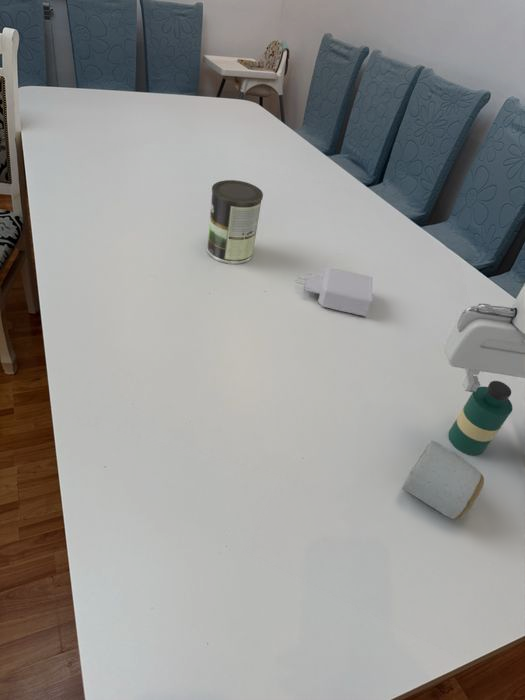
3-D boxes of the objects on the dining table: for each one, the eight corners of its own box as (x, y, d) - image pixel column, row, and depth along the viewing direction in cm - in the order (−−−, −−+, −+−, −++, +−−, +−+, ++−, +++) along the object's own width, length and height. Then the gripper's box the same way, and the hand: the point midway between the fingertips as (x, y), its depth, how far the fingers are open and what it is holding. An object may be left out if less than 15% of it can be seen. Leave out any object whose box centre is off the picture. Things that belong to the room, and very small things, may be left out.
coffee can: (200, 257, 105) (205, 194, 96) (214, 236, 113) (219, 175, 104) (247, 269, 104) (257, 206, 95) (257, 246, 112) (267, 186, 103)
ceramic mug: (453, 534, 63) (480, 500, 58) (395, 498, 66) (415, 462, 61) (475, 481, 71) (500, 446, 66) (421, 450, 73) (441, 415, 69)
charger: (296, 277, 105) (366, 293, 104) (290, 301, 98) (365, 318, 97) (300, 258, 102) (372, 274, 101) (295, 281, 95) (372, 299, 94)
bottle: (479, 429, 78) (514, 377, 71) (489, 458, 74) (527, 406, 67) (444, 423, 78) (475, 370, 71) (452, 452, 74) (486, 399, 67)
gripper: (474, 316, 58) (432, 398, 67) (644, 344, 58) (580, 421, 67) (462, 287, 63) (424, 367, 72) (619, 312, 63) (563, 389, 72)
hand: (501, 394), depth 69 cm, fingers open, 8 cm apart
